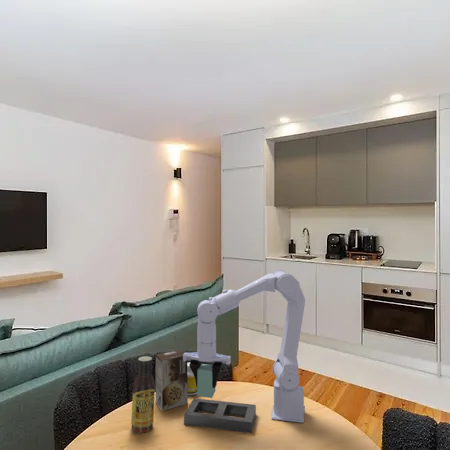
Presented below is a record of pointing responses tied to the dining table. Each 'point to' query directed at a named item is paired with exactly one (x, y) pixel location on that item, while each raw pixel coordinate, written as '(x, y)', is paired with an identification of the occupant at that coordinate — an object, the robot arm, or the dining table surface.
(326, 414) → the dining table surface
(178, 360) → the coffee box
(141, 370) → the sauce bottle
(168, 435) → the dining table surface
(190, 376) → the supplement bottle
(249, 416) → the grey peg holder tray
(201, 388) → the peg
